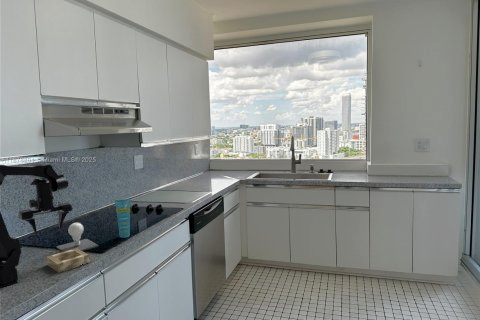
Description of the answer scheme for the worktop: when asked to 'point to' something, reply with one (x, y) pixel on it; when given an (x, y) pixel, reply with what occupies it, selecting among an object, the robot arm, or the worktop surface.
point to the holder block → (67, 260)
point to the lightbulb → (76, 232)
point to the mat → (83, 246)
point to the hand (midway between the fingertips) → (48, 231)
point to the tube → (123, 217)
